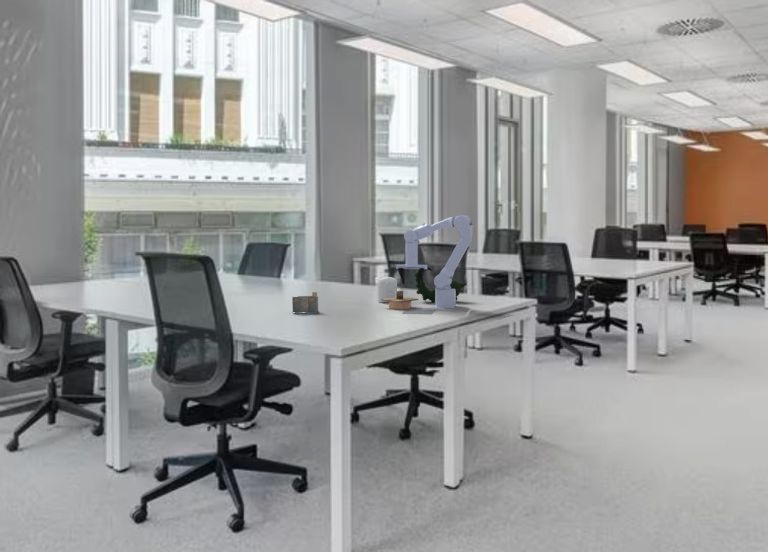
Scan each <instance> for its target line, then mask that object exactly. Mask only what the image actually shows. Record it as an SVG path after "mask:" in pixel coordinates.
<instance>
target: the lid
mask: <svg viewBox="0 0 768 552" xmlns="http://www.w3.org/2000/svg"><path fill="white" fill-rule="evenodd" d="M381 300H382V301H390V302H398V303H402V302H409V301H411V302H414V301H415V302H416V301H419V298H414V297H406V296H404V290H397V291H396V297H394V298H386V299H381Z"/></svg>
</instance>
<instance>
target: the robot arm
mask: <svg viewBox="0 0 768 552" xmlns="http://www.w3.org/2000/svg"><path fill="white" fill-rule="evenodd" d="M473 226H474V224H473V221H472V218H471V217H470V216H469V215H467V214H463V215H461V214H459V215H456V216H451V217H447V218H445V219H442V220H441V221H438V222H435V223H433V224H430V223H425V222H424V223H422V224H421V225H420V226H417V227H413V228H412V229H408V230H406V231H405V232H404V233H403V239H404V241H405V264H404V263H403V264H395V269H396V270H397V271H398V274H399V277H400V279H401V282H402V285H405V283H406V282H405V281H406V280H405V279H406V278H405V275H406V270H417V271H418V272H419V285H420V284H421V280H422V277H423V278H424V274H425V272H426V271H425V269H427V266H428V264H419V263H418V260H419V259H418V258H419V257H418V256H419V254H418V252H419V250H418V249H419V247H418V243H419V242H418V241H420V240H422V239H425V238H428V237H430V236H432V235H433V234H434V233H435V232H436V231H439V230H441V229H445V228H448V227H451V228H455V229H456V230H457V231H458V232H457V233H458V234H459V237H460V238H459V240H458V242H457V244H456V246H455V247H454V249H453V251H452V253H451V254H450V256H449V258H448V260H447V262H446V264H445V266H444V267H443V268H442V269H441V270H440V272H439V274H437V275H436V276H435V277H434V278H433V284H434V287H435V288H434V289H435V302H434V303H435V305H434V306H433V308H438V309H439V308H440V309H441V308H443V309H444V308H446V309H447V308H449V309H454V308H455V307H456V306H457V301H456V290H455V289H451V286H450V284H451V283H452V279H453V277H454V275H455V271H456V269H457V267H458V265H459V264H460V262H461V260H462V258H463V256H464V254H465V253H466V251H467V249H468V247H469V246H470V244H471V242H472V240H473V236H474V235H473V233H474V232H473Z"/></svg>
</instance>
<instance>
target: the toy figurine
mask: <svg viewBox="0 0 768 552" xmlns="http://www.w3.org/2000/svg"><path fill="white" fill-rule="evenodd" d="M432 269H433V268H431V267H429V266H428V265H427V269H425V272H426V271H430V272H432V271H433V270H432ZM414 277H415V278H414V280H415V283H416V284H415V287H416V288H417V290H416V294H417V295H421V297H422V300H423V301H425V302H426V301H427V300H429V301H431V303H435V289H436V288H431V289H429V288H427V286H426V283H425V282H424V276H423V277H422V280H421V284H420V285H419V272H418V270H417V271H416V272H414ZM450 286H451V289H455V290H456V302H457V301H458V297H459V295H460V294H461V291H462V289H463V288H464V287H465V286H467V283H466V282H458V281H457V280H456V279H453V278H452V283H451V284H450Z"/></svg>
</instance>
